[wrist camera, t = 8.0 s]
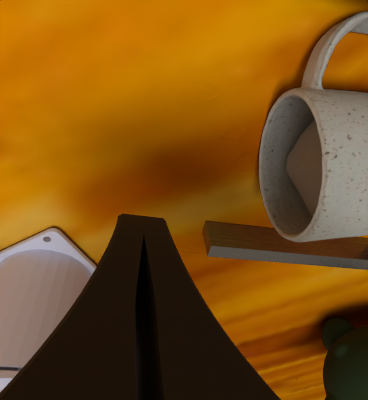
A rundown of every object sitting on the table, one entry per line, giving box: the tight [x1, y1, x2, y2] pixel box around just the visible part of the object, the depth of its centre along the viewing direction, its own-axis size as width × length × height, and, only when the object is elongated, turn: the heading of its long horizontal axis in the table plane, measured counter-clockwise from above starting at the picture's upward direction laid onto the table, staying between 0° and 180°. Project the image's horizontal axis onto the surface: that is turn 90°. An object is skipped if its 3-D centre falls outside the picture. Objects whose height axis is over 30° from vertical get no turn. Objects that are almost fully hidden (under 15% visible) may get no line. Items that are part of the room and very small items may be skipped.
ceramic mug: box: [259, 11, 368, 242], centre depth 16 cm, size 11×8×8 cm
